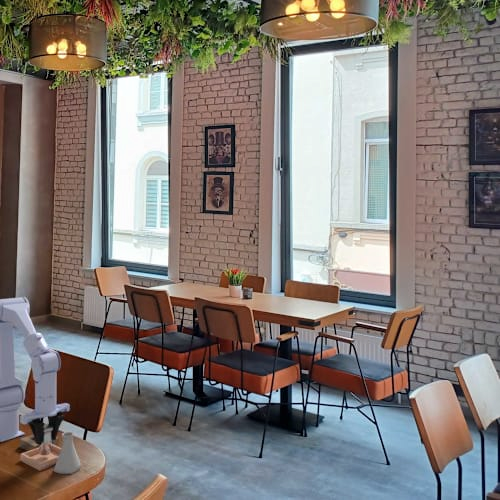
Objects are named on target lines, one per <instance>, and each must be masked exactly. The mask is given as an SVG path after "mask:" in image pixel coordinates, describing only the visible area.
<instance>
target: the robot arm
mask: <svg viewBox="0 0 500 500" xmlns="http://www.w3.org/2000/svg"><path fill="white" fill-rule="evenodd" d="M30 307H31V306H30V302H29V300H28V298H27V297H26V296H20V297H9V298H1V299H0V442H1V443H2V442H6V441H9V440H11V439H15V438H18V437H21V436H25V434H26V433H25V432H23V431H22V430H19V429H20V424H22V425H27V424H28V426H29V428H30V430H31V432H32V435H34V438H35V442H36V444H38V445H42V433H43V428H44V424H46V423H45V422H43V421H42V419H43V418H46V417H47V420H48V424H52V425H53V426H54V429H53V430H52V440H56V437H58V432H59V429H60V426H61V425H62V422H63V421H64V419H65V414H63V412H64V413H65V412H69V411H70V410H71V408H70V407H71V406H70V404H69V403H67V402H64V403H59V404H57V385H58V384H57V377H58V376H57V372H58V371H60V369H61V365H62V361H61V357H60V354H59V352H58V351H56V350H54V349H53V348H51V347H50V346H49V345H48V342H47V341H46V339H45V337H44V336H43V334H42V333H41V332H37V331H36V329H35V326H34V324H33V321H32V319H31V317H30V311H31V308H30ZM14 326H15V327H16V328H17V329H18V331H19V333H20V334H21V335H22V337H23V339H24V340H23V342H22V344H23V346H24V348H25V351H26V352H27V354H28V356H29V358H30V359H31V362H30V367H31V371H32V378H33V381H34V410H32V411H29V412H28V413H26V414H23V415H20V412H19V411H20V408H21V407H22V403H24V401H25V398H26V392H25V391H26V390H25V387H24V381H23V380H22V379H21V378H20V377H17V376H16V371H15V370H16V368H15V364H16V363H15V346H14V345H15V344H14V343H15V342H14ZM19 422H20V423H19Z"/></svg>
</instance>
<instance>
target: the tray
mask: <svg viewBox="0 0 500 500" xmlns="http://www.w3.org/2000/svg"><path fill="white" fill-rule="evenodd" d="M61 448H62V447H60V446H56V445H53V444H52V448H51V454H49V455H40V447H39V448H36V449H33V450H30V451H27V450H26V451H25V452H22V453H20V461H21V462H23V463H24V464H26V465H28V466H30V467H31V468H34V469H35V470H37V471H40V472H41V471H43V470H46V469H48V468H52V467H55V465H56V463H57V460H58V457H59V454H60V451H61Z"/></svg>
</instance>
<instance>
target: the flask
mask: <svg viewBox="0 0 500 500" xmlns="http://www.w3.org/2000/svg"><path fill="white" fill-rule="evenodd" d="M74 434H75V432H72V431H65V432H63V433H61V438H62V443H61V447H60V448H61V451H60V454H59V457H58V460H57V463H56V465H54V469H53V472H54V473H58V474H61V475H63V474H68V475H69V474H70V475H71V474H74V473H76V472H77V471H80V470H81V466H82V463H81V461H80V458H79V456H78V453H77V450H76V448H75V445H74V440H73V439H74Z"/></svg>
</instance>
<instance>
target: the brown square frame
mask: <svg viewBox="0 0 500 500" xmlns="http://www.w3.org/2000/svg"><path fill="white" fill-rule="evenodd" d="M59 441H60V439H59V437H58V436H56V440H52V444H53V445H56V446H58V447H60V442H59ZM39 447H40V445H38V444H36V442H35V438H34V435H33V434H31V435H28V436H24V437H21V438H19V448H20V449H23V450H24V451H26V452H27V451H30V450H33V449H36V448H39Z"/></svg>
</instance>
